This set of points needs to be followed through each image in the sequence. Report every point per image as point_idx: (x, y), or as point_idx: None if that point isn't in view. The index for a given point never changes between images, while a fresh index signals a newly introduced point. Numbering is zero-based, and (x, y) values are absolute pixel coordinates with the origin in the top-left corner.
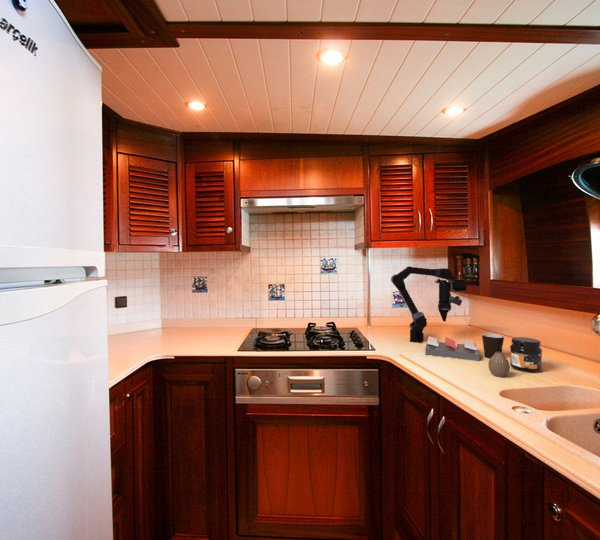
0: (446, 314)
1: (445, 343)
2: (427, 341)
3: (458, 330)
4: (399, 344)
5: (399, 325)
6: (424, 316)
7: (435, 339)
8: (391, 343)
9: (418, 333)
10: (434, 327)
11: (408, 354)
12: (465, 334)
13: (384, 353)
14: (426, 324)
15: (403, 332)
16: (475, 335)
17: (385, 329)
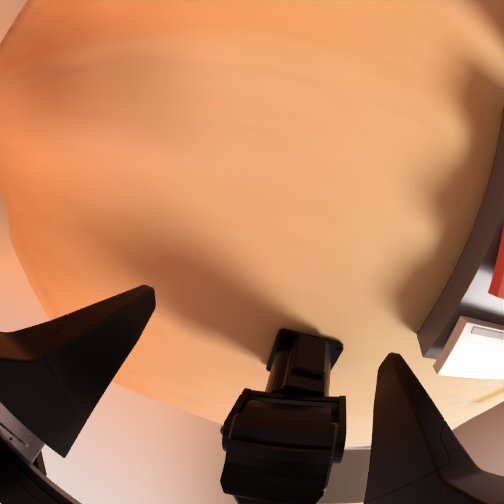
0: (450, 443)
1: (488, 282)
2: (496, 375)
3: (21, 106)
4: (366, 406)
5: (52, 316)
6: (324, 482)
7: (479, 344)
8: (349, 420)
9: (328, 392)
10: (15, 201)
11: (483, 387)
12: (67, 67)
13: (452, 425)
14: (330, 419)
15: (139, 348)
16: (78, 23)
17: (127, 379)
